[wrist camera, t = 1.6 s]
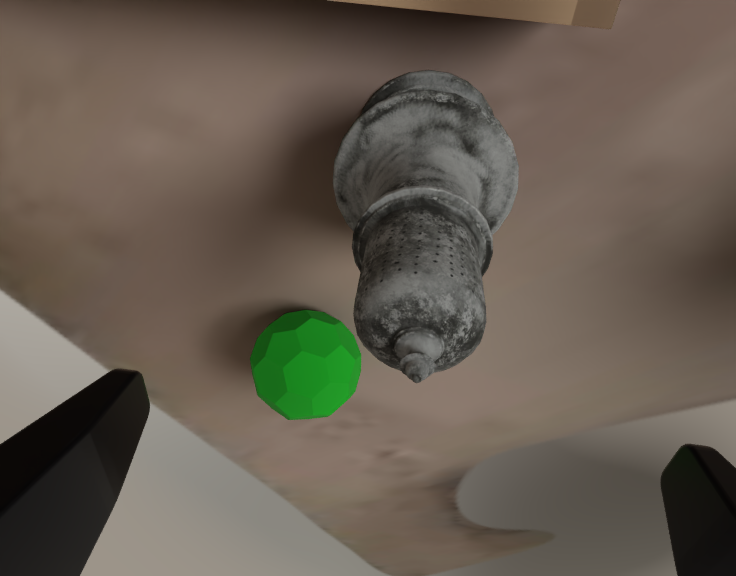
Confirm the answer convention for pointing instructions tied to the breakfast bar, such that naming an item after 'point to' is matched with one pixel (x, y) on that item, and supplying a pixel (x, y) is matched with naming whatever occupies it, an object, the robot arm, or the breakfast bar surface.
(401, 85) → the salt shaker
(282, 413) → the polyhedron
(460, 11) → the walled box
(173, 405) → the breakfast bar surface
